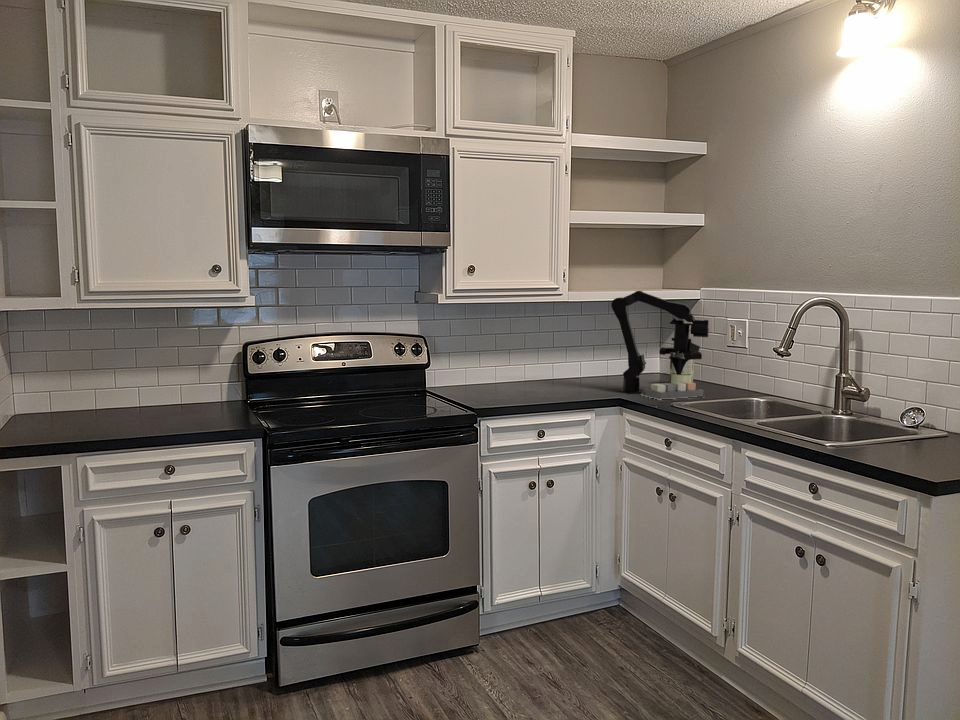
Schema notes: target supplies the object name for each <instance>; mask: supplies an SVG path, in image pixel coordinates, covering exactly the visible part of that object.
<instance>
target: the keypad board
mask: <svg viewBox="0 0 960 720" xmlns="http://www.w3.org/2000/svg"><path fill="white" fill-rule="evenodd" d="M640 395H641V396H640ZM703 395H704V389H700V388H697V387H696V388H695V390H688V389H686V391H680V390H676V391H674V392H671V391H667V390H665V392H658V391H654V390H651V387H648V388H647V387H645V388H642V393H639V396H640V397H643V396H645V397H644V398H647V397H649V398H648V399H651V398H654V399H653V400H655V399H657V400H656V401H663V400H662V399H673V400H677V399H676V398H688V397H697V396H703ZM688 399H689V398H688Z"/></svg>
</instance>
